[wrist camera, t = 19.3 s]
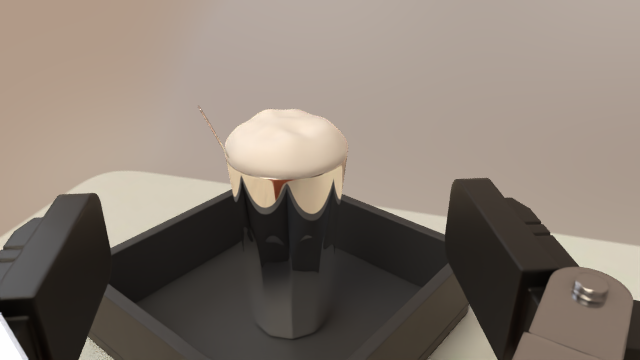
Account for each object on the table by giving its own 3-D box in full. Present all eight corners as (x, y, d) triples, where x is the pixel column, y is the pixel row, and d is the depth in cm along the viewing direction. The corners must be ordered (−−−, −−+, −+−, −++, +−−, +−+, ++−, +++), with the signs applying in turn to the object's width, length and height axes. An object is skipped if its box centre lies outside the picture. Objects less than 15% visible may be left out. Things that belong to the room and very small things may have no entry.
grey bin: (86, 335, 24) (68, 268, 22) (277, 222, 32) (275, 167, 30) (290, 514, 17) (288, 436, 15) (467, 312, 25) (478, 247, 23)
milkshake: (209, 300, 25) (185, 87, 20) (317, 272, 27) (319, 71, 22) (236, 371, 21) (214, 131, 17) (360, 333, 23) (372, 107, 18)
